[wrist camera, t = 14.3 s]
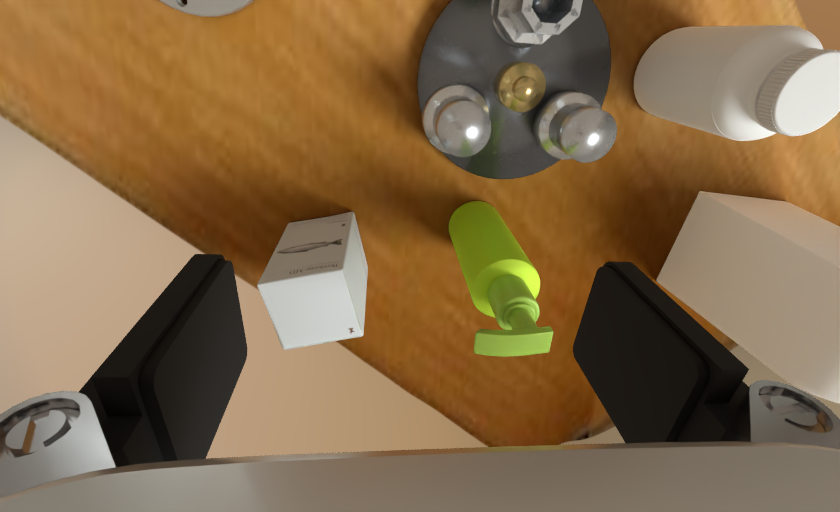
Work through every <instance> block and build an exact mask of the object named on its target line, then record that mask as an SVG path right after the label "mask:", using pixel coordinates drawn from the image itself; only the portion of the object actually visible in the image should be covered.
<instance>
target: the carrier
mask: <svg viewBox="0 0 840 512" xmlns="http://www.w3.org/2000/svg"><path fill="white" fill-rule="evenodd" d="M493 4H494V0H451V1H450V2H449V4H448V5H447V6H446V7H445V8H444V9H443V10H442V12H441V13H440V15H439V16H438V18H437V19H436V21H435V22H434V24H433V26H432V28H431V30H430V32H429V34H428V36H427V38H426V41H425V44H424V46H423V49H422V53H421V57H420V61H419V66H418V75H417V93H418V102H419V107H420V111H421V115H422V125H423V128H424V131H425V133H426V136H427V138H428V139H429V141H430V142H431V144H432V145H433V146H434V147H436V148H437V149H438V150H440V151H441V152H442V153H443V154H444V155H445V156H446V157H447V158H448V159H450V160H451V161H452V162H453V163H455V164H456V165H457V166H459V167H461V168H462V169H464V170H466V171H468V172H470V173H473V174H475V175H478V176H482V177H486V178H493V179H513V178H520V177H524V176H528V175H531V174H534V173H537V172H539V171H541V170H544V169H546V168H547V167H549V166H551V165H553V164H555V163H556V162H557V161H559V160H560V159H575V160H576V161H579V162H583V163H588V162H593V161H596V160H598V159H600V158H601V157H603V156H604V155H605V154H606V153H607V152H608V151H609V150H610V149H611V147H612V146H613V144H614V142H615V139H616V135H617V126H616V122H615V120H614V118H613V117H612V116H611V115H610V114H609V113H607V112H605V111H603V110H602V109H601V107H602V104H603V101H604V98H605V95H606V92H607V88H608V83H609V78H610V68H611V50H610V43H609V37H608V33H607V30H606V26H605V23H604V21H603V18H602V16H601V14H600V12H599V10H598V8H597V7H596V5H595V4H594V2H593V0H583V2H582V6H581V11H580V16H579V17H578V18H577V19H576V20H574V21H573V22H572V23H571V24H570V25H569V26H568V27H567V28H566V29H564V30H563V31H562V32H561V33H560V34H559V35H552V36H550V37H549V38H548V39H547V40H546V41H545V42H544V43H543V44H531V43H518V42H508V41H507V40H506V38H505V37H504V35H503V34H502V32H501V31H500V29H499V28H498V26H497V25H496V23H495V22H494V20H493V19H492V12H493ZM553 5H554V0H533V2H532V9H533V10H534V12H535V14H536V15H537V17H538V18H539V17H540V16H541V15H542V14H544V13H547V12H549V11H550V10H551V9H552V7H553Z"/></svg>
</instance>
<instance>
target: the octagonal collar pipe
mask: <svg viewBox="0 0 840 512" xmlns="http://www.w3.org/2000/svg"><path fill="white" fill-rule="evenodd" d="M532 2H533V0H494V4H493V12H492V19H493V20H494V22H495V23H496V25H497V26H498V28H499V29H500V31H501V32H502V34H503V35H504V37H505V38H506V40H507V41H508V42H518V43H531V44H543V43H544V42H545V41H546V40H547V39H548V38H549V37H550V36H552V35H559V34H560V33H561V32H562V31H563V30H564V29H566V28H567V27H568V26H569V25H570V24H571V23H572V22H573V21H574V20H576V19H577V18H578V17H579V16H580V11H581V6H582V2H583V0H554V5H553V7H552V9H551V10H550V11H549V12H547V13H544V14H542V15H541V16H540V17H539V18H538V17H537V15H536V14H535V12H534V10H533V9H532Z"/></svg>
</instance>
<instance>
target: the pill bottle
mask: <svg viewBox="0 0 840 512" xmlns="http://www.w3.org/2000/svg"><path fill="white" fill-rule="evenodd" d="M634 94H635V97H636V100H637V102H638V104H639V105H640V106H641V108H642V109H643V110H645V111H646V112H647V113H649V114H651V115H653V116H656V117H659V118H662V119H665V120H669V121H672V122H675V123H679V124H682V125H685V126H689V127H692V128H695V129H699V130H702V131H705V132H709V133H712V134H715V135H719V136H722V137H725V138H729V139H733V140H738V141H749V140H757V139H762V138H765V137H768V136H771V135H773V134H776V133H779V134H783V135H787V136H800V135H804V134H807V133H810V132H812V131H815V130H817V129H818V128H820V127H822V126H823V125H825V124H826V123H827V122H829V121H830V120H831V119H832V118H833V117H834V116H835V115H836V114H837V113H838V112H839V111H840V51H836V50H824V49H823V47H822V45H821V43H820V41H819V40H818V39H817V38H816V37H815V36H814V35H813V34H812V33H810V32H809V31H807V30H805V29H802V28H800V27H797V26H790V25H765V26H705V27H684V28H679V29H675V30H673V31H670V32H668V33H666V34H664V35H663V36H661V37H660V38H658V39H657V40H656V41H655V42H654V43H653V44H652V45H651V46H650V47H649V48H648V49H647V50H646V52H645V53H644V55H643V56H642V58H641V60H640V62H639V64H638V66H637V69H636V72H635V76H634Z"/></svg>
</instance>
